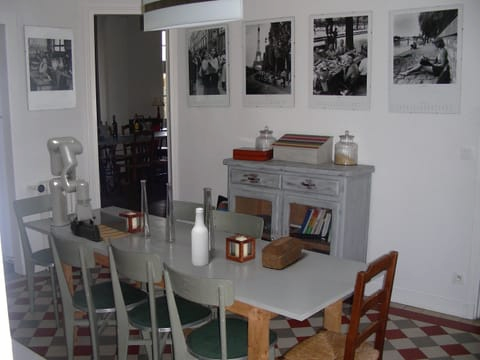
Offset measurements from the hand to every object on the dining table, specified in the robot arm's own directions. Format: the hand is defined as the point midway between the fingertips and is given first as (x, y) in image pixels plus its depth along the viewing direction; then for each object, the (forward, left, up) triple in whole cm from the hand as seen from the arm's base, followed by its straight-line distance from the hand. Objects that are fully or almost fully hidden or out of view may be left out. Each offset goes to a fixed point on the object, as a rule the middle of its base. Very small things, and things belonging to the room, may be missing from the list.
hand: (84, 228), depth 336 cm
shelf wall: (0, +21, -4) cm, 21 cm away
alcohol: (+88, +18, -6) cm, 90 cm away
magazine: (0, 0, -6) cm, 6 cm away
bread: (+117, +51, -6) cm, 128 cm away
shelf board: (0, +13, -5) cm, 14 cm away
